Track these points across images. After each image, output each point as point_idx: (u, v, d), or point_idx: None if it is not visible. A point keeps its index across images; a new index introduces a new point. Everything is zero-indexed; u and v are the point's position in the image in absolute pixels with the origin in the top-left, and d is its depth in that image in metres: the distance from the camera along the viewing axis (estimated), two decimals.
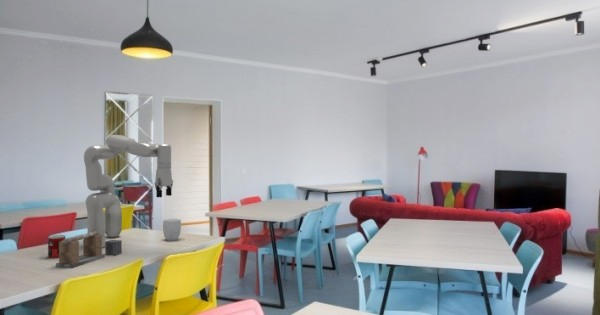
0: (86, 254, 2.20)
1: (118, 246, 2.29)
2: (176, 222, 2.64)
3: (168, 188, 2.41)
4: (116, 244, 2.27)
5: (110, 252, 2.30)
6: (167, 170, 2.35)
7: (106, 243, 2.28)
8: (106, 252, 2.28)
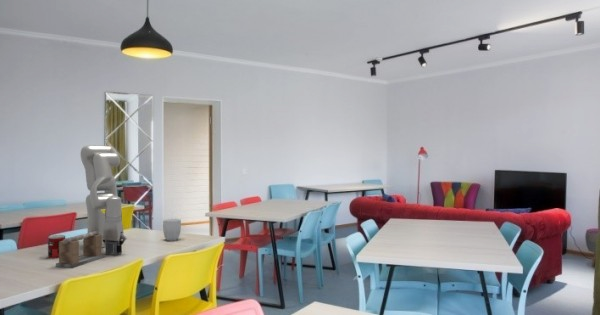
0: (86, 254, 2.20)
1: None
2: (176, 222, 2.64)
3: None
4: (116, 244, 2.27)
5: (110, 252, 2.30)
6: None
7: (106, 243, 2.28)
8: (106, 252, 2.28)
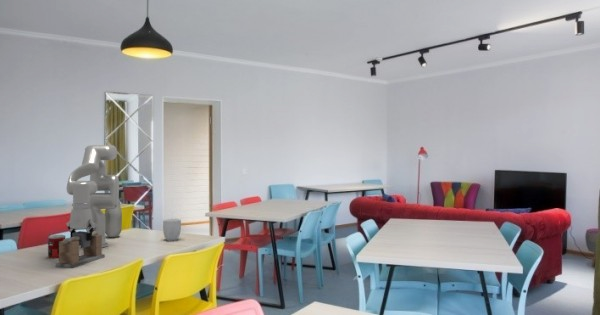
0: (86, 254, 2.20)
1: (86, 238, 2.13)
2: (176, 222, 2.64)
3: (73, 231, 2.15)
4: (84, 236, 2.11)
5: None
6: None
7: (73, 235, 2.12)
8: None
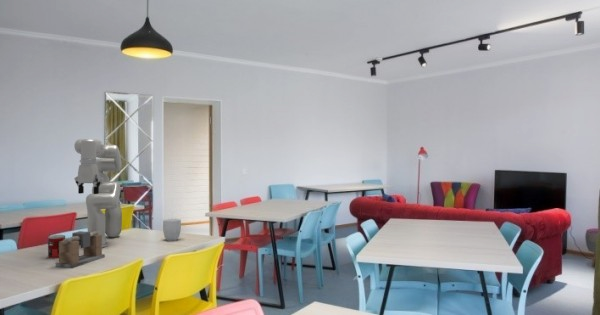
0: (86, 254, 2.20)
1: (86, 238, 2.13)
2: (176, 222, 2.64)
3: (81, 185, 2.29)
4: (84, 236, 2.11)
5: None
6: None
7: (73, 235, 2.12)
8: None
